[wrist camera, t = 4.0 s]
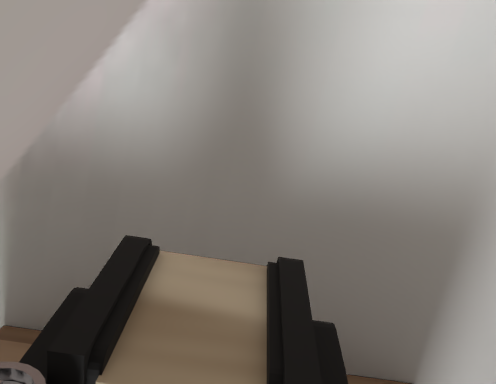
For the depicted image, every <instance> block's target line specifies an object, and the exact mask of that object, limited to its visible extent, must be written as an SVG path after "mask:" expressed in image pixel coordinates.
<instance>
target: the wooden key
mask: <svg viewBox="0 0 496 384" xmlns="http://www.w3.org/2000/svg"><path fill="white" fill-rule="evenodd" d="M96 384H267V266H263V265H256V264H249V263H242V262H235V261H228V260H221V259H214V258H207V257H200V256H194V255H187V254H180V253H173V252H166V251H160V253H159V255H158V258H157V260H156V262H155V264H154V266H153V268H152V270H151V272H150V274H149V277H148V279H147V281H146V283H145V285H144V287H143V289H142V291H141V293H140V296H139V298H138V300H137V302H136V304H135V306H134V308H133V310H132V312H131V315H130V317H129V319H128V321H127V323H126V325H125V327H124V329H123V331H122V334H121V336H120V338H119V340H118V342H117V344H116V346H115V348H114V350H113V352H112V355H111V357H110V359H109V361H108V363H107V365H106V367H105V369H104V371H103V374H102V376H101V375H99V376H98V378H97V380H96Z"/></svg>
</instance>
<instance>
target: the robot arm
mask: <svg viewBox="0 0 496 384" xmlns="http://www.w3.org/2000/svg"><path fill="white" fill-rule="evenodd" d="M159 253H160V248H159V246H152V241H151V239H148V238H141V237H134V236H127V235H126V236H125V237H124V238H123V240H122V241H121V243H120V244H119V246H118V247H117V249H116V250H115V251H114V253H113V254H112V256H111V257H110V259H109V260H108V262H107V263H106V265H105V266H104V268H103V269H102V271H101V272H100V274H99V275H98V277H97V278H96V279H95V281H94V282H93V284H92V285H91V287H90V288H89V289H86V288H79V287H77V288H74V289H73V290H72V291H71V292H70V294H69V295H68V296H67V298H66V299H65V300H64V302H63V303H62V304H61V306H60V307H59V308H58V310H57V311H56V312H55V314H54V315H53V316H52V318H51V319H50V321H49V322H48V323H47V325H46V326H45V327H44V329H43V330H42V331H41V333H40V334H39V335H38V337H37V338H36V339H35V341H34V342H33V343H32V345H31V346H30V348H29V349H28V350H27V352H26V353H25V354H24V356H23V357H22V358H21V360H20V361H19V362H0V384H96V380H97V378H98V376H99V375H101V376H102V374H103V371H104V369H105V367H106V365H107V363H108V361H109V359H110V357H111V355H112V352H113V350H114V348H115V346H116V344H117V342H118V340H119V338H120V336H121V334H122V331H123V329H124V327H125V325H126V323H127V321H128V319H129V317H130V315H131V312H132V310H133V308H134V306H135V304H136V302H137V300H138V298H139V296H140V293H141V291H142V289H143V287H144V285H145V283H146V281H147V279H148V277H149V274H150V272H151V270H152V268H153V266H154V264H155V262H156V260H157V258H158V255H159ZM267 384H348V380H347V375H346V371H345V367H344V362H343V358H342V353H341V349H340V345H339V340H338V336H337V332H336V328H335V325H334V324H333V323H328V322H321V321H314V320H312V315H311V309H310V302H309V296H308V289H307V283H306V276H305V270H304V263H303V260H296V259H289V258H282V257H278V260H277V263H272V262H268V265H267Z"/></svg>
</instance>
